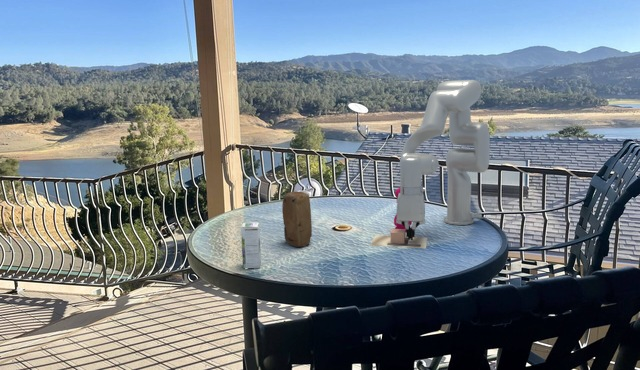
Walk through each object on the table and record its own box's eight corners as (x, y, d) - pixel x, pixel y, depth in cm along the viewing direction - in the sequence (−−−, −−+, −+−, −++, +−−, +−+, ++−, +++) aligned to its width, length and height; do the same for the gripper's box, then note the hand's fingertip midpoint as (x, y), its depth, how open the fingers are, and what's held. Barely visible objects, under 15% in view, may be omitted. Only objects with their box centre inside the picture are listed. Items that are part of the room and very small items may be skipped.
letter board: (427, 239, 180) (427, 237, 179) (425, 250, 167) (425, 248, 167) (375, 236, 185) (375, 234, 185) (370, 247, 172) (370, 245, 172)
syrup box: (244, 263, 161) (241, 222, 158) (261, 262, 161) (259, 221, 158) (243, 269, 155) (240, 227, 152) (261, 268, 156) (258, 226, 153)
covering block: (405, 239, 178) (405, 229, 177) (404, 243, 173) (404, 233, 172) (391, 238, 179) (391, 228, 178) (390, 243, 174) (390, 232, 173)
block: (314, 244, 178) (312, 193, 174) (298, 249, 173) (296, 196, 169) (296, 238, 186) (294, 189, 182) (281, 243, 181) (278, 192, 177)
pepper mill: (411, 235, 186) (412, 185, 182) (393, 234, 187) (393, 185, 183) (412, 229, 192) (412, 181, 189) (394, 229, 194) (394, 181, 190)
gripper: (432, 188, 173) (431, 236, 176) (391, 188, 176) (391, 235, 180) (431, 193, 166) (430, 242, 169) (389, 192, 169) (389, 241, 173)
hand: (410, 238), depth 174 cm, fingers closed
